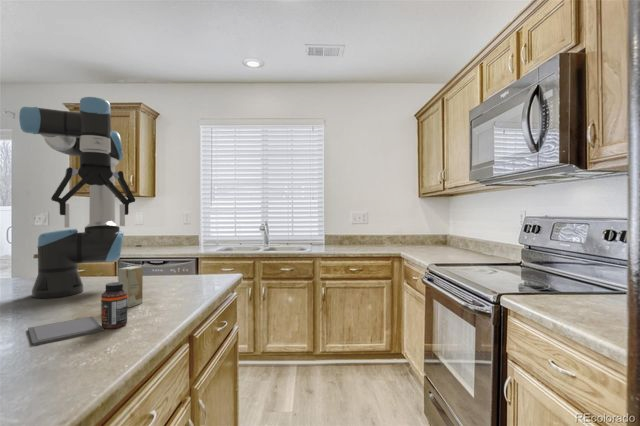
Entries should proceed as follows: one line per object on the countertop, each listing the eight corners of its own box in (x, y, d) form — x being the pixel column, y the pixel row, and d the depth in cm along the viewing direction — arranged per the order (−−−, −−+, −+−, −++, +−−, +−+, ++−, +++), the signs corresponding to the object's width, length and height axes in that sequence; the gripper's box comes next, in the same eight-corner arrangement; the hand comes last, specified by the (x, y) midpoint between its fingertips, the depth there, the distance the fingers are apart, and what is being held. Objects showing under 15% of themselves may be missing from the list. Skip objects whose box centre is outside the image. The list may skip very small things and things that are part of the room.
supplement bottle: (97, 326, 92) (96, 284, 92) (120, 320, 97) (120, 280, 97) (107, 331, 89) (107, 286, 89) (131, 324, 94) (131, 282, 94)
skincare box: (129, 308, 109) (129, 269, 109) (117, 307, 110) (117, 268, 110) (143, 302, 116) (143, 266, 116) (132, 302, 117) (132, 265, 117)
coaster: (28, 330, 89) (28, 327, 89) (92, 318, 99) (92, 316, 99) (32, 345, 79) (32, 342, 79) (103, 331, 89) (103, 328, 89)
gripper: (41, 145, 89) (41, 228, 89) (146, 156, 106) (146, 225, 106) (38, 149, 95) (39, 227, 95) (138, 159, 112) (139, 225, 112)
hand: (95, 226), depth 100 cm, fingers open, 13 cm apart
